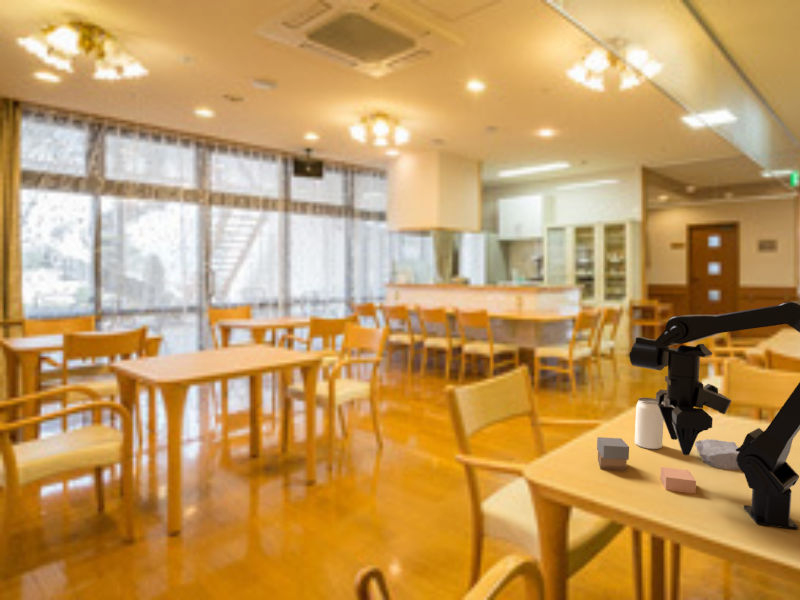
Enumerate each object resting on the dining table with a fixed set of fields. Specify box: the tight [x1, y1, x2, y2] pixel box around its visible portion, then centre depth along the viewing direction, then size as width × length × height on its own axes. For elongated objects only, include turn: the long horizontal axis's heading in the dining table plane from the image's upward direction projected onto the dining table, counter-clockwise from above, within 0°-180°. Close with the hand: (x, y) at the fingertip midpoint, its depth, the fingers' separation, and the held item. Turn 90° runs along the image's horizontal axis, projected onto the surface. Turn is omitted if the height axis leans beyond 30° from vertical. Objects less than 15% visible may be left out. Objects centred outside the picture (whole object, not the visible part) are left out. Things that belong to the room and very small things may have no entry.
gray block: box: [596, 436, 630, 461], centre depth 113 cm, size 6×6×3 cm
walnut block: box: [597, 450, 628, 473], centre depth 113 cm, size 6×6×3 cm
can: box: [634, 397, 664, 450], centre depth 126 cm, size 6×6×12 cm
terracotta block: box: [659, 466, 697, 494], centre depth 103 cm, size 6×6×3 cm
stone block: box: [694, 438, 741, 471], centre depth 117 cm, size 12×5×10 cm
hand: (679, 446), depth 102 cm, fingers open, 9 cm apart
